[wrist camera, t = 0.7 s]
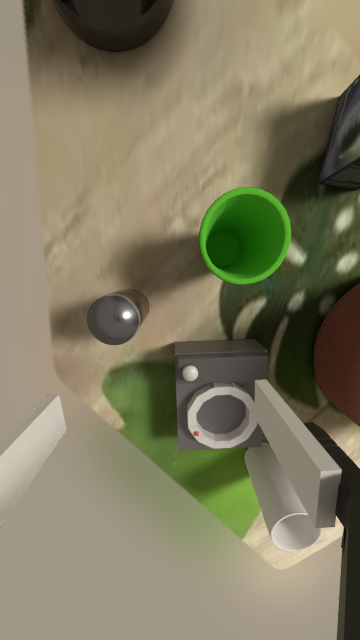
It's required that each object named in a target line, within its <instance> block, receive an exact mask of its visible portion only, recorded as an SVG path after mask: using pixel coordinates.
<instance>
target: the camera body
mask: <svg viewBox="0 0 360 640" xmlns="http://www.w3.org/2000/svg"><path fill="white" fill-rule="evenodd" d="M268 360H269V355H268V350H267V349H266V348H265V347H264V346H262V345H261V344H260V343H259V342H258V341H257V340H255V339H242V340H216V341H190V342H175V377H176V401H177V425H178V449H179V451H183V450H206V449H228V448H251V447H262V438H263V431H262V429H261V427H260V425H259V424H258V422H257V420H256V418H255V380H265V379H266V380H267V376H268Z"/></svg>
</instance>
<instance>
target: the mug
mask: <svg viewBox="0 0 360 640" xmlns="http://www.w3.org/2000/svg"><path fill="white" fill-rule="evenodd" d="M244 459H245V463H246V466H247V469H248V473H249V476H250V479H251V481H252V484H253V487H254V490H255V493H256V496H257V499H258V502H259V505H260V508H261V511H262V514H263V517H264V520H265V523H266V526H267V528H268V531H269V534H270V536H271V540H272V543H273V544H274V545H275V546H276V547H277V548H279V549H281V550H283V551H287V552H298V551H302V550H305V549H308V548H309V547H311V546H313V545H314V544H315V543H316V542H317V541H318V540H319V538H320V536H321V533H322V528H315V527H314V525H313V523H312V521H311V519H310V518H309V516H308V514H307V512H306V510H305V508H304V507H303V505H302V503H301V501H300V499H299V497H298V496H297V494H296V492H295V490H294V488H293V486H292V484H291V483H290V481H289V479H288V477H287V475H286V473H285V472H284V470H283V468H282V466H281V464H280V462H279V460H278V459H277V457H276V455H275V453H274V451H273V449H272V448H271V446H270V444H269V443H264V442H262V447H251V448H248V449H247V451H246V453H245V457H244Z"/></svg>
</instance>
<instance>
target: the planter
mask: <svg viewBox="0 0 360 640" xmlns="http://www.w3.org/2000/svg"><path fill="white" fill-rule="evenodd" d="M313 366H314V372H315V376H316V379H317V382H318V384H319V386H320V388H321V390H322V392H323V393H324V394H325V396H326V397H327V398H328V399H329V400H330V401H331V402H332V403H333V404H334V405H335V406H336V407H337V408H338V409H339V410H340V411H341V412H342V413H344V414H345V415H346V416H347V417H348V418H350V419H351V420H352V421H353V422H355V423H356V424H357V425H358V426H360V283H359V284H357V285H356V286H354V287H353V288H352V289H350V290H349V291H348V292H347V293H345V294H344V295H343V296H342V297H341V298H340V299H339V300H338V301H337V303H336V304H335V305H334V306H333V307H332V309H331V310H330V311H329V313H328V314H327V316H326V317H325V319H324V321H323V323H322V325H321V327H320V329H319V332H318V334H317V337H316V341H315V345H314V353H313Z"/></svg>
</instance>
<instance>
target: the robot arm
mask: <svg viewBox="0 0 360 640" xmlns="http://www.w3.org/2000/svg"><path fill="white" fill-rule="evenodd" d="M53 2H54V4H55V6H56V8H57V10H58V12H59V14H60V15H61V17H62V18H63V20H64V21H65V23H66V24H67V25H68V26H69V27H70V29H71V30H72V31H73V32H74V33H75V34H76V35H78V36H79V37H80V38H81V39H83V40H84V41H85V42H87V43H89V44H91V45H93V46H95V47H97V48H100V49H103V50H108V51H125V50H129V49H133V48H135V47H138V46H140V45H141V44H143V43H145V42H146V41H147V40H149V39H150V38H151V37H152V36H153V35H154V34H155V33H156V32H157V31H158V30H159V28H160V27H161V26H162V24H163V23H164V21H165V19H166V17H167V15H168V13H169V11H170V8H171V6H172V3H173V0H53ZM255 418H256V420H257V422H258V424H259V425H260V427H261V429H262V431H263V433H264V435H265V436H266V438H267V440H268V442H269V444H270V446H271V448H272V449H273V451H274V453H275V455H276V457H277V459H278V460H279V462H280V464H281V466H282V468H283V470H284V472H285V473H286V475H287V477H288V479H289V481H290V483H291V484H292V486H293V488H294V490H295V492H296V494H297V496H298V497H299V499H300V501H301V503H302V505H303V507H304V508H305V510H306V512H307V514H308V516H309V518H310V519H311V521H312V523H313V525H314V527H315V528H325V527H335V519H336V516H337V517H338V519H339V520H340V522H341V523H342V525H343V526H344V531H343V538H342V545H341V547H342V562H341V579H340V595H339V613H338V630H337V640H360V469H359V468H358V466H357V465H356V464H355V463H354V462H353V461H352V460H351V459H350V458H349V457H348V456H347V455H346V454H345V452H344V451H343V450H342V449H341V448H340V447H338V446H337V444H336V443H335V442H334V441H333V440H332V439H331V437H330V436H329V435H328V434H327V433H326V432H325V431H324V430H323V429H322V428H320V427H319V426H317V425H316V424H314V423H313V422H311V423H302V422H301V420H300V419H299V418H298V417H297V416H296V414H295V413H294V412H293V411H292V410H291V408H290V407H289V406H288V405H287V404H286V402H285V401H284V400H283V399H282V398H281V396H280V395H279V394H278V393H277V392H276V390H275V389H274V388H273V387H272V386H271V384H270V383H269V382H268V381H267V380H266V379H265V380H255ZM66 430H67V429H66V424H65V420H64V415H63V411H62V406H61V402H60V397H59V395H47V396H46V397H45V398H44V399H43V400H42V401H41V402H40V403H39V404H38V405H37V406H36V407H35V408H34V409H33V410H32V411H31V412H30V413H29V414H28V415H27V416H26V417H25V418H24V419H22V421H20V422H19V423H18V424H17V426H15V427H14V428H13V429H12V430H11V431H10V432H9V433H8V434H7V435H6V436H5V437H4V438H3V439H2V440H1V441H0V526H1V525H2V523H3V522H4V520H5V519H6V517H7V516H8V515H9V513H10V511H11V510H12V508H13V507H14V505H15V504H16V503H17V501H18V500H19V499H20V497H21V496H22V494H23V493H24V491H25V490H26V488H27V487H28V485H29V484H30V482H31V481H32V480H33V478H34V477H35V475H36V474H37V472H38V471H39V469H40V468H41V467H42V465H43V464H44V462H45V461H46V459H47V458H48V456H49V455H50V453H51V452H52V450H53V449H54V448H55V446H56V445H57V443H58V442H59V440H60V439H61V437H62V436H63V435H64V433H65V432H66Z"/></svg>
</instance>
